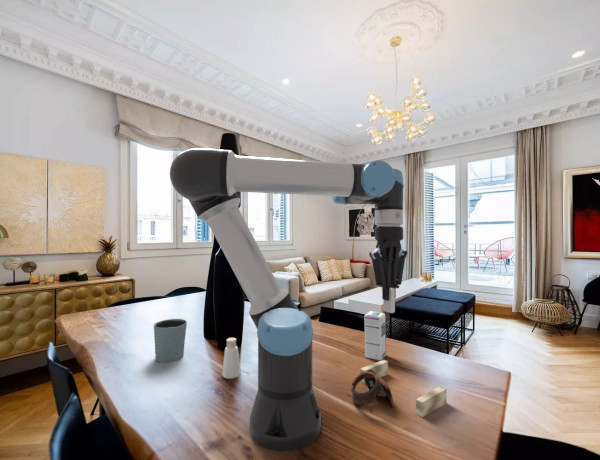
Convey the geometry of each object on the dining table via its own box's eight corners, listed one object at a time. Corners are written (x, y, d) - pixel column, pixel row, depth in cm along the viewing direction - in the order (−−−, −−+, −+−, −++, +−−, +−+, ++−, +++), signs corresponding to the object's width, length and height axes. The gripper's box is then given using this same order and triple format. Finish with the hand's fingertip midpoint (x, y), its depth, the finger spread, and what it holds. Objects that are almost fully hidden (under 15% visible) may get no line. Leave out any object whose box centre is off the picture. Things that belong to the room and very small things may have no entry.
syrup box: (381, 361, 91) (381, 316, 92) (364, 357, 95) (364, 314, 95) (386, 354, 96) (386, 312, 96) (369, 351, 99) (369, 310, 100)
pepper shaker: (220, 374, 83) (220, 337, 83) (238, 370, 85) (238, 334, 85) (223, 383, 78) (223, 343, 78) (242, 379, 80) (242, 340, 81)
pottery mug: (401, 418, 63) (385, 389, 62) (363, 431, 65) (347, 403, 64) (390, 380, 75) (377, 355, 74) (358, 392, 76) (344, 368, 75)
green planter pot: (148, 359, 93) (149, 323, 94) (178, 349, 101) (179, 316, 101) (160, 368, 87) (160, 330, 87) (192, 358, 94) (192, 322, 94)
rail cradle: (422, 420, 62) (422, 402, 62) (360, 382, 78) (360, 368, 78) (446, 405, 68) (446, 388, 68) (384, 373, 84) (383, 359, 84)
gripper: (382, 225, 70) (382, 318, 70) (415, 226, 77) (416, 311, 77) (361, 226, 77) (361, 311, 76) (393, 226, 84) (394, 305, 83)
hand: (389, 311), depth 77 cm, fingers closed
